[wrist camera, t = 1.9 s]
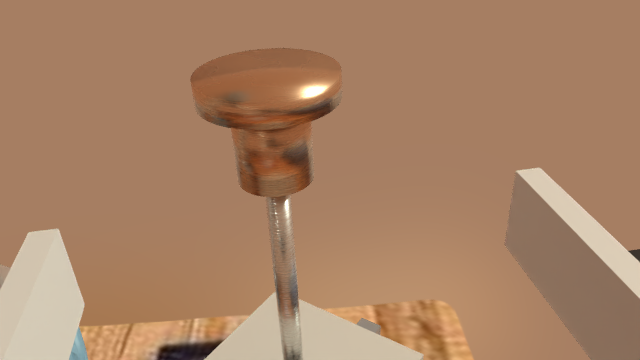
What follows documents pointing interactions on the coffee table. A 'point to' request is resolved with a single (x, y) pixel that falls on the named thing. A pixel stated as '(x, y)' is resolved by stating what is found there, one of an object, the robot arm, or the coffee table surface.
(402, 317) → the coffee table surface
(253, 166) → the plunger
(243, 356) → the press
